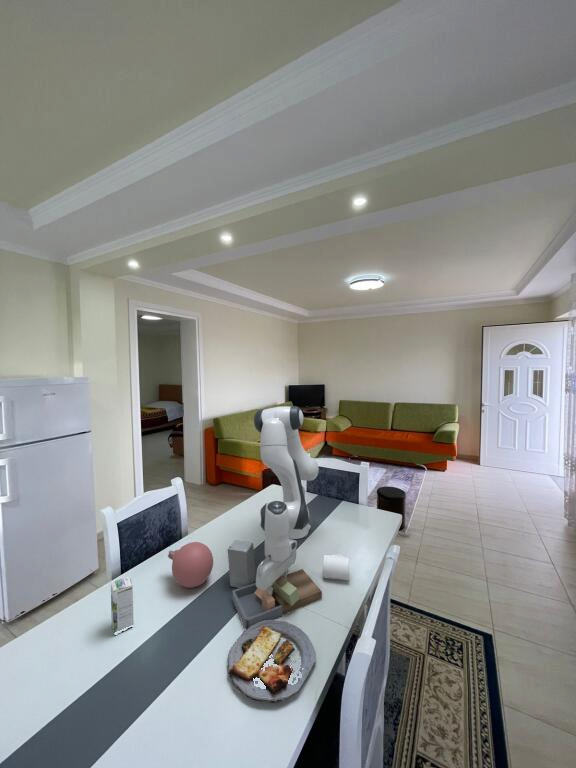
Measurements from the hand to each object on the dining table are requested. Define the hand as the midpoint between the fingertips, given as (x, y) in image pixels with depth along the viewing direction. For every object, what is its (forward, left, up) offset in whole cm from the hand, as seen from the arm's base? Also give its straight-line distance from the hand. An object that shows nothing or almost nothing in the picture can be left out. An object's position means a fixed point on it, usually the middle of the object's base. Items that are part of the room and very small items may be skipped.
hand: (277, 587), depth 113 cm
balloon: (-26, -26, -6) cm, 37 cm away
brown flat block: (-1, +7, -6) cm, 9 cm away
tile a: (-3, -3, -3) cm, 5 cm away
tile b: (+3, -3, -2) cm, 5 cm away
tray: (-1, -8, -6) cm, 10 cm away
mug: (-3, +28, -6) cm, 29 cm away
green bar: (0, +2, -2) cm, 3 cm away
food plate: (+20, -11, -6) cm, 23 cm away
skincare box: (-15, -8, -6) cm, 18 cm away
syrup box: (-14, -49, -6) cm, 51 cm away
